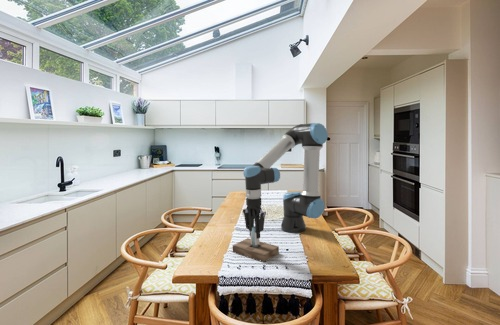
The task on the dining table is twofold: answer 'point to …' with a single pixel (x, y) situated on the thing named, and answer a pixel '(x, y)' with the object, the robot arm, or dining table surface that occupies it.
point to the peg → (253, 237)
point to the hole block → (256, 250)
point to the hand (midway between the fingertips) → (255, 243)
